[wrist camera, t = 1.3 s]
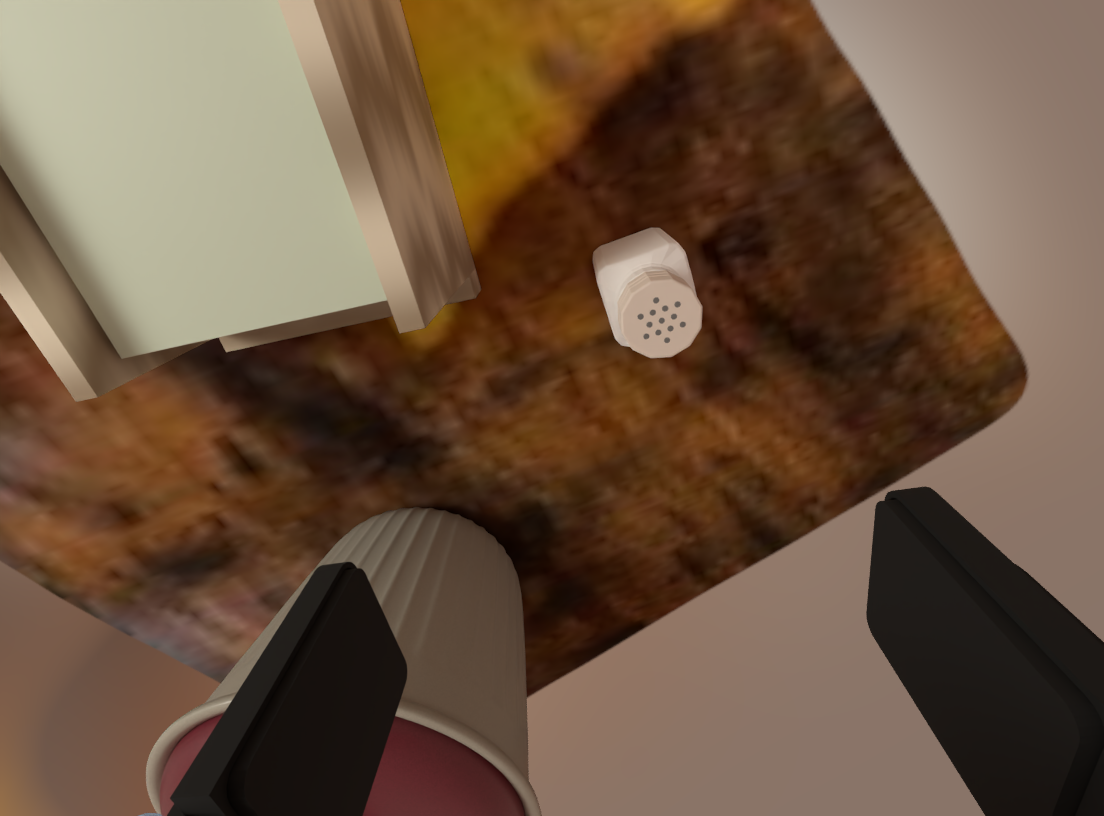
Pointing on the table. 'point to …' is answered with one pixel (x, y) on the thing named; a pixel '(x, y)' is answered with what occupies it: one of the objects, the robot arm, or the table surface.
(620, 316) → the pepper shaker
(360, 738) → the robot arm
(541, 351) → the table surface
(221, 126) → the trapdoor
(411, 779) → the canister
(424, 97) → the stand
